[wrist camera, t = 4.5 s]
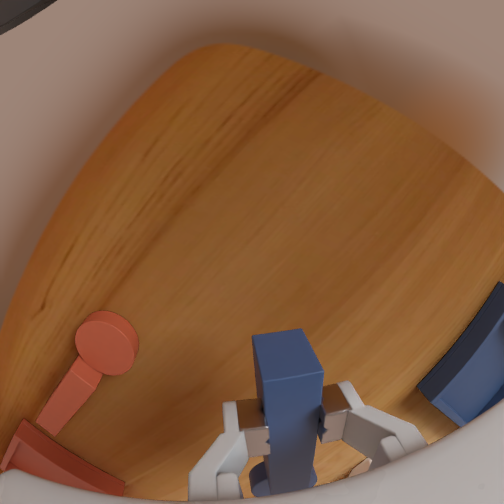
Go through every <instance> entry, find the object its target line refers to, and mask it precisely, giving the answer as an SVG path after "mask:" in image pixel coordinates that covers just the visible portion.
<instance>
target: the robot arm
mask: <svg viewBox="0 0 504 504" xmlns="http://www.w3.org/2000/svg"><path fill="white" fill-rule="evenodd" d="M222 408H223V424H224V433H222V434H220V435H219V436H218V437H217V439H216V440H215V441H214V442H213V444H212V445H211V446H210V448H209V449H208V450H207V451H206V453H205V454H204V455H203V456H202V458H201V459H200V460H199V461H198V463H197V464H196V465H195V466H194V468H193V469H192V470H191V471H190V472H189V477H188V501H164V500H149V499H139V498H130V497H123V496H116V495H110V494H104V493H99V492H94V491H89V490H84V489H80V488H76V487H72V486H68V485H64V484H61V483H57V482H54V481H50V480H47V479H44V478H41V477H38V476H35V475H32V474H29V473H27V472H24V471H21V470H19V469H10V470H8V471H6V472H4V473H2V474H0V504H504V398H503V399H502V400H501V401H499V402H498V403H497V404H495V405H494V406H492V407H491V408H490V409H488V410H487V411H485V412H484V413H482V414H481V415H479V416H478V417H476V418H475V419H473V420H472V421H470V422H469V423H467V424H465V425H464V426H462V427H460V428H459V429H457V430H455V431H454V432H452V433H450V434H448V435H447V436H445V437H443V438H441V439H439V440H437V441H435V442H434V443H432V444H430V445H428V444H427V442H426V441H425V439H424V438H423V437H422V435H421V434H420V432H419V431H418V429H417V428H416V427H415V425H413V424H411V423H408V422H406V421H403V420H401V419H399V418H396V417H394V416H392V415H389V414H387V413H385V412H382V411H380V410H378V409H376V408H374V407H371V406H369V405H366V406H365V405H364V404H363V402H362V400H361V399H360V397H359V396H358V394H357V392H356V391H355V389H354V387H353V386H352V384H351V383H350V381H348V380H347V381H343V382H339V383H336V384H331V385H327V386H323V389H322V399H321V404H320V412H319V423H318V430H317V434H318V436H319V439H320V441H321V444H323V443H328V442H332V441H336V440H340V439H342V440H343V441H344V442H346V443H347V444H349V445H350V446H352V447H353V448H355V449H356V450H358V451H359V452H361V453H362V454H364V455H365V456H367V457H368V458H370V459H371V460H372V462H371V464H370V466H369V469H368V471H366V472H363V473H360V474H357V475H354V476H351V477H348V478H345V479H341V480H338V481H335V482H331V483H327V484H323V485H320V486H315V487H311V488H307V489H302V490H298V491H293V492H287V493H282V494H276V495H269V496H262V497H255V498H246V499H244V497H243V494H242V491H241V487H240V484H239V480H238V477H239V476H240V474H241V472H242V470H243V469H244V467H245V465H246V463H247V461H248V459H249V457H256V456H262V455H268V454H271V453H270V442H269V427H268V422H267V418H266V414H264V412H263V405H262V401H261V398H256V399H247V400H237V401H227V402H223V404H222Z"/></svg>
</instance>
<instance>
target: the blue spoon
mask: <svg viewBox="0 0 504 504" xmlns="http://www.w3.org/2000/svg"><path fill="white" fill-rule="evenodd" d="M252 346H253V357H254V367H255V378H256V388H257V398H261V401H262V405H263V412H264V414H266V418H267V422H268V427H269V442H270V453H271V454H268V455H263V458H264V461H263V462H261V463H259V464H257V465H256V466H255V467H253V468H252V470H251V471H250V473H249V479H250V486H251V492H252V494H253V495H254V496H256V497H262V496H269V495H276V494H282V493H287V492H293V491H298V490H302V489H307V488H311V487H313V486H314V485H315V484H316V482H317V476H316V473H315V470H314V467H313V461H314V454H315V447H316V440H317V430H318V423H319V412H320V404H321V399H322V389H323V378H324V370H323V368H322V366H321V364H320V362H319V360H318V359H317V357H316V355H315V353H314V351H313V349H312V347H311V345H310V343H309V341H308V339H307V338H306V336H305V334H304V332H303V330H302V329H294V330H288V331H281V332H274V333H267V334H259V335H253V336H252Z"/></svg>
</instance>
